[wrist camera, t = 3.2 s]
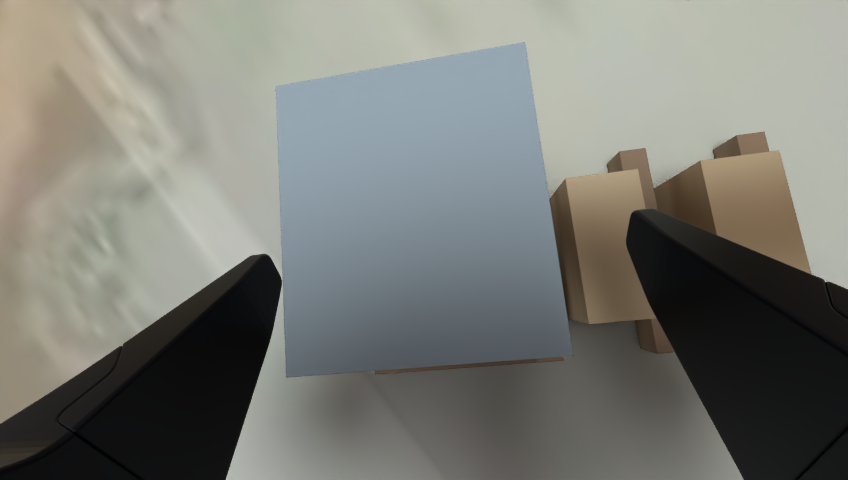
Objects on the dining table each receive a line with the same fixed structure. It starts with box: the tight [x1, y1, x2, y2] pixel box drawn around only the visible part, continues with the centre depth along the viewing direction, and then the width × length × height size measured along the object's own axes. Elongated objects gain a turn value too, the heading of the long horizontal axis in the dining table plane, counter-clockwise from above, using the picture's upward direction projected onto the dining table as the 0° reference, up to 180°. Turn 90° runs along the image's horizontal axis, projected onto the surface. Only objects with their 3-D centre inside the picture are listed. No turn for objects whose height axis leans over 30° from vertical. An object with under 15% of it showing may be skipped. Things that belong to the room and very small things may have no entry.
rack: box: [375, 132, 769, 374], centre depth 16 cm, size 8×16×2 cm, turn 96°
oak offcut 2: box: [654, 150, 811, 274], centre depth 14 cm, size 5×2×4 cm, turn 6°
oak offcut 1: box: [549, 169, 656, 324], centre depth 15 cm, size 5×2×4 cm, turn 6°
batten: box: [276, 42, 573, 377], centre depth 11 cm, size 4×4×12 cm
